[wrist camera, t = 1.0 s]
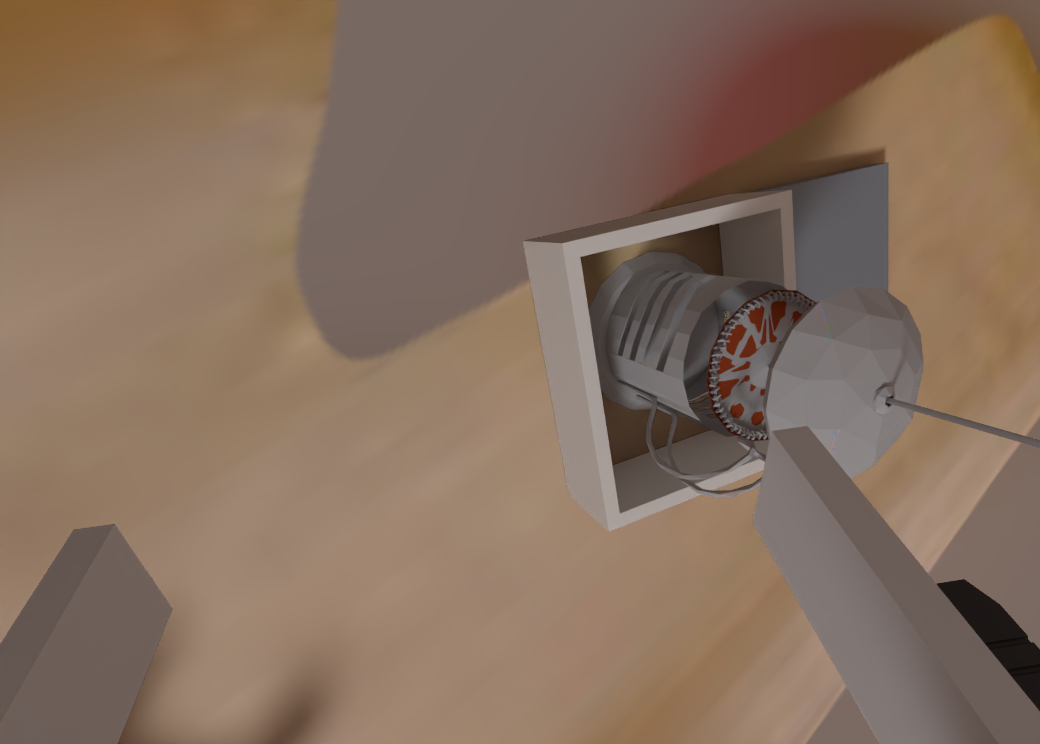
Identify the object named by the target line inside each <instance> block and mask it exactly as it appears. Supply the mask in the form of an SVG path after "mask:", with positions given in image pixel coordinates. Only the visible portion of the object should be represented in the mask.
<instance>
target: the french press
mask: <svg viewBox="0 0 1040 744" xmlns="http://www.w3.org/2000/svg"><path fill="white" fill-rule="evenodd" d="M723 310H725V311H729V313H730V318H729V319H728V320H727V321H726V322H725V323H724V315H723ZM589 317H590V323H591V330H592V336H593V343H594V349H595V356H596V362H597V369H598V375H599V382H600V388H601V391H602V392H603V393H604V394H605V395H606V397H607V398H608V399H609V400H610V401H613V402H615V403H617V404H620V405H622V406H624V407H626V408H629V409H631V410H633V411H635V410H651V411H650V414H649V418H648V421H647V425H646V441H647V445H648V448H649V451H650V454H651V456H652V457H653V459H654V460H655V461H656V463H657V464H658V465H659V467H661V468H662V469H664V470H666V471H667V472H669V473H671V474H672V475H674V476H675V477H677V478H679V480H681V481H682V482H683V483H685V484H686V485H687V486H689V487H690V488H691V489H693V490H694V491H695V492H697V493H699V494H703V495H707V496H712V497H733V496H736V495H739V494H742V493H745V492H748V491H751V490H753V489H756V488H757V487H759V486H760V484H761V479H762V477H761V478H760V479H758V480H757V481H755V482H754V483H753V484H750V485H747V486H743V487H740V488H737V489H734V490H727V491H712V490H706V489H702V488H701V487H699V486H697V485H695V484H694V483H692V482H690V481H689V480H700V479H710V478H713V477H716V476H719V475H722V474H725V473H729V472H732V471H734V470H735V469H737V468H738V467H740V466H741V465H742V464H744V463H745V462H747V461H748V460H750V459H751V458H752V457H753V455H755V456H756V457H757V458H759V459H761V460H763V461H764V462H765V460H766V455H765V454H762V453H760V452H759V451H758V450H756V447H755V444H754V441H760V440H769V441H770V436H771V431H775V430H782V429H789V428H796V427H803V426H808V427H809V428H810V429H811V431H812V432H813V433H814V434H815V436H816V437H817V438H818V439H819V441H820V442H821V443H822V444H823V445H824V447H825V448H826V449H827V450H828V452H829V453H830V454H831V455H832V457H833V458H834V459H835V460H836V461H837V463H838V464H839V465H840V466H841V468H842V469H843V470H844V471H845V473H846V474H847V475H848V476H849V477H850V479H851V478H853V477H855V476H856V475H858V474H860V473H862V472H863V471H865V470H867V469H869V468H870V467H872V466H874V464H875V463H876V462H877V461H878V460H879V459H880V458H881V457H882V456H883V454H884V453H885V452H886V451H887V450H888V449H889V448H890V447H891V446H892V445H893V443H894V442H895V441H896V440H897V439H898V438H899V436H900V435H901V434H902V432H903V431H904V429H905V428H906V427H907V425H908V424H909V423H910V421H911V420H912V417H913V413H914V411H916V412H920V413H923V414H926V415H930V416H933V417H937V418H940V419H943V420H947V421H950V422H954V423H957V424H960V425H964V426H967V427H971V428H974V429H977V430H981V431H984V432H988V433H991V434H994V435H998V436H1001V437H1005V438H1008V439H1011V440H1015V441H1018V442H1021V443H1025V444H1028V445H1032V446H1035V447H1039V448H1040V440H1037V439H1033V438H1029V437H1026V436H1023V435H1019V434H1016V433H1012V432H1008V431H1005V430H1001V429H998V428H994V427H991V426H987V425H984V424H980V423H977V422H973V421H970V420H966V419H963V418H959V417H956V416H952V415H949V414H945V413H942V412H938V411H935V410H931V409H928V408H924V407H921V406H917V405H915V404H916V399H917V395H918V390H919V386H920V381H921V377H922V372H923V354H922V344H921V335H920V332H919V330H918V328H917V326H916V324H915V322H914V320H913V318H912V316H911V314H910V312H909V310H908V308H907V306H906V305H904V304H903V303H902V302H900V301H899V300H898V299H896V298H895V297H894V296H892V295H891V294H890V293H888V292H887V291H885V290H884V289H883V288H869V287H855V286H852V287H850V288H848V289H846V290H843V291H841V292H839V293H837V294H834V295H832V296H830V297H828V298H826V299H823V300H821V301H819V302H817V303H816V302H814V301H813V300H811V299H810V298H808V297H806V296H805V295H803V294H802V293H800V292H799V291H797V290H787V289H786V288H784V287H783V286H782V285H778V284H774V283H771V282H766V281H759V280H751V279H744V278H736V277H727V276H718V275H710V274H706V273H705V272H704V270H703V269H702V267H700V266H699V265H697V264H695V263H694V262H692V261H690V260H689V259H687V258H685V257H684V256H682V255H681V254H679V253H668V252H652V251H651V252H648V253H646V254H643V255H641V256H638V257H636V258H633V259H631V260H628V261H626V262H623V263H622V264H621V265H620V266H619V267H618V268H617V269H616V270H615V271H614V272H613V273H612V274H611V275H610V276H609V277H608V278H607V279H606V280H605V281H604V282H603V283H602V284H601V285H600V287H599V289H598V291H597V293H596V295H595V297H594V300H593V302H592V304H591V306H590V308H589ZM708 392H709V398H707V399H705V400H703V401H701V402H698V403H693V404H689V403H688V401H692V400H695V399H697V398H699V397H701V396H702V395H704V394H706V393H708ZM709 404H711V406H712V409H707V410H702V411H695V410H693V408H698V407H703V406H707V405H709ZM656 409H659V410H661V411H663V412H665V413H667V414H669V415H670V416H671V417H672V422H671V426H670V430H669V434H668V438H667V459H668V461H669V463H670V465H671V466H669V465H668V464H667V463H665V462H664V461H662V460H661V459H660V458H659V457H658V455H657V453H656V451H655V449H654V447H653V445H652V443H651V427H652V423H653V419H654V416H655V412H656ZM674 412H675V413H677V414H680V415H682V416H684V417H686V418H688V419H690V420H692V421H694V422H696V423H698V424H701V425H703V426H705V427H707V428H709V429H711V430H713V431H715V432H718V433H720V434H722V435H724V436H726V437H734V436H739V437H738V438H737V441H738V442H739V443H740V444H741V445H742V446H743V447H744V448H745V449H747V450H748V453H747V454H746V455H744V456H743V457H741V458H740V459H739V460H737V461H736V462H734V463H733V464H732V465H730V466H728V467H725V468H723V469H720V470H717V471H714V472H711V473H708V474H697V475H692V474H686V473H681V472H680V471H679V469H678V468H677V466H676V464H675V462H674V459H673V457H672V438H673V435H674V431H675V428H676V424H677V415H676V414H675V413H674ZM714 413H715V414H716V416H717V417H715V418H710V417H708V416H706V415H709V414H714ZM721 422H722V423H721ZM687 479H688V480H687Z"/></svg>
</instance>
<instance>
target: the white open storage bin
mask: <svg viewBox="0 0 1040 744" xmlns="http://www.w3.org/2000/svg"><path fill="white" fill-rule="evenodd" d="M718 223H719V229H720V241H721V254H722V266H723V276H727V277H736V278H744V279H751V280H759V281H766V282H771V283H774V284H778V285H782V286H783V287H784V288H786V289H787V290H796V268H795V247H794V225H793V203H792V190H780V191H767V192H753V193H739V194H727V195H723V196H718V197H714V198H709V199H705V200H701V201H696V202H692V203H687V204H683V205H679V206H674V207H670V208H666V209H661V210H657V211H652V212H648V213H644V214H639V215H635V216H630V217H626V218H622V219H618V220H613V221H608V222H604V223H600V224H596V225H591V226H586V227H582V228H578V229H573V230H569V231H565V232H560V233H556V234H552V235H547V236H543V237H538V238H534V239H530V240H525V241H523V245H524V250H525V255H526V261H527V266H528V272H529V278H530V283H531V289H532V294H533V300H534V305H535V311H536V316H537V322H538V327H539V333H540V338H541V344H542V349H543V355H544V360H545V366H546V372H547V377H548V383H549V388H550V394H551V399H552V405H553V410H554V416H555V421H556V427H557V432H558V438H559V443H560V449H561V454H562V460H563V465H564V471H565V476H566V482H567V487H568V493H569V495H570V496H571V497H573V498H574V499H575V500H576V501H577V502H578V503H579V504H580V505H581V506H582V507H583V508H584V509H585V510H586V511H587V512H588V513H589V514H590V515H592V516H593V517H594V518H595V519H596V520H597V521H598V522H599V523H600V524H601V525H602V526H603V527H604V528H605V529H606V530H607V531H608V532H610V531H612V530H615V529H617V528H620V527H622V526H625V525H627V524H630V523H632V522H635V521H637V520H640V519H642V518H645V517H647V516H650V515H652V514H655V513H657V512H659V511H662V510H664V509H667V508H669V507H672V506H674V505H677V504H679V503H682V502H684V501H687V500H689V499H692V498H694V497H697V496H699V495H702V494H699V493H697V492H695V491H694V490H693V489H691V488H690V487H689V486H687V485H686V484H685V483H683V482H682V481H681V480H679V478H677V477H675V476H674V475H672V474H671V473H669V472H667V471H666V470H664V469H662V468H661V467H659V465H658V464H657V463H656V461H655V460H654V459H653V457H652V456H651V454H650V452H648V453H646V454H643V455H640V456H637V457H635V458H632V459H629V460H626V461H624V462H621V463H618V464H615V465H613V466H612V460H611V453H610V447H609V440H608V434H607V427H606V421H605V414H604V408H603V401H602V395H601V388H600V382H599V375H598V369H597V362H596V356H595V349H594V343H593V336H592V330H591V323H590V317H589V310H588V304H587V297H586V291H585V284H584V278H583V271H582V265H581V258H580V257H582V256H586V255H591V254H595V253H599V252H603V251H607V250H611V249H615V248H619V247H623V246H627V245H632V244H636V243H640V242H644V241H648V240H652V239H656V238H660V237H664V236H669V235H673V234H677V233H681V232H685V231H689V230H693V229H697V228H701V227H705V226H710V225H714V224H718ZM726 314H727V320H728V319H729V318H730V313H729V311H726ZM738 437H739V436H734V437H726V436H724V435H722V434H720V433H718V432H715V431H713V430H709V431H706V432H703V433H700V434H698V435H695V436H692V437H689V438H687V439H684V440H681V441H678V442H676V443H673V444H672V457H673V459H674V462H675V464H676V466H677V468H678V469H679V471H680V472H681V473H686V474H692V475H697V474H708V473H711V472H714V471H717V470H720V469H723V468H725V467H728V466H730V465H732V464H733V463H734V462H736V461H737V460H739V459H740V458H741V457H743V456H744V455H746V454H747V453H748V450H747V449H745V448H744V447H743V446H742V445H741V444H740V443H739V442H738V441H737V438H738ZM754 444H755V447H756V450H758V451H759V452H760V453H762V454H765V455H767V450H768V445H769V440H760V441H754ZM655 451H656V453H657V455H658V457H659V458H660V459H661V460H662V461H664V462H665V463H667V464H668V465H669V466H671V465H670V463H669V461H668V459H667V446H665V447H662V448H659V449H657V450H655ZM764 465H765V462H764V461H763V460H761V459H759V458H757V457H756V456H755V455H753V457H752V458H751V459H750V460H748V461H747V462H745V463H744V464H742V465H741V466H740V467H738V468H737V469H735V470H734V471H732V472H729V473H725V474H722V475H719V476H716V477H713V478H710V479H700V480H689V481H690V482H692V483H694V484H695V485H697V486H699V487H701V488H702V489H706V490H714V489H717V488H719V487H722V486H724V485H727V484H729V483H732V482H734V481H737V480H739V479H742V478H744V477H747V476H749V475H752V474H754V473H757V472H759V471H762V470H764ZM687 480H688V479H687Z"/></svg>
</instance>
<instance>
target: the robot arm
mask: <svg viewBox="0 0 1040 744" xmlns="http://www.w3.org/2000/svg"><path fill="white" fill-rule="evenodd" d="M753 524H754V526H755V527H756V529H757V531H758V533H759V534H760V536H761V538H762V540H763V541H764V543H765V545H766V547H767V548H768V550H769V552H770V554H771V555H772V557H773V559H774V561H775V562H776V564H777V566H778V568H779V569H780V571H781V573H782V575H783V576H784V578H785V580H786V582H787V583H788V585H789V587H790V588H791V590H792V592H793V594H794V595H795V597H796V599H797V601H798V602H799V604H800V606H801V608H802V609H803V611H804V613H805V615H806V616H807V618H808V620H809V622H810V623H811V625H812V627H813V629H814V630H815V632H816V634H817V636H818V637H819V639H820V641H821V643H822V644H823V646H824V648H825V650H826V651H827V653H828V655H829V657H830V658H831V660H832V662H833V664H834V665H835V667H836V669H837V671H838V672H839V674H840V676H841V677H842V679H843V681H844V683H845V684H846V686H847V688H848V690H849V691H850V693H851V695H852V697H853V698H854V700H855V702H856V703H857V705H858V707H859V709H860V711H861V712H862V714H863V716H864V718H865V719H866V721H867V723H868V724H869V726H870V728H871V730H872V732H873V733H874V735H875V737H876V739H877V740H878V742H879V744H1040V649H1039V648H1038V647H1037V646H1036V645H1035V644H1034V643H1031V642H1030V641H1029V640H1028V636H1027V635H1026V633H1025V632H1024V631H1023V630H1022V629H1021V628H1020V627H1019V625H1018V624H1017V623H1016V622H1015V621H1014V620H1013V619H1012V618H1011V617H1010V615H1008V613H1007V612H1006V611H1005V610H1004V609H1003V608H1002V606H1001V605H1000V604H998V603H997V602H996V601H994V600H993V599H991V598H990V597H989V596H987V595H985V594H984V593H983V592H981V591H980V590H979V589H977V588H976V587H974V586H973V585H971V584H970V583H969V582H967V581H966V580H964V579H963V580H957V581H950V582H944V583H938V584H936V583H935V582H934V581H933V579H932V578H931V577H930V576H929V575H928V573H927V572H926V571H925V570H924V568H923V567H922V566H921V565H920V563H919V562H918V561H917V560H916V559H915V557H914V556H913V555H912V554H911V552H910V551H909V550H908V549H907V548H906V546H905V545H904V544H903V543H902V541H901V540H900V539H899V538H898V536H897V535H896V534H895V533H894V532H893V530H892V529H891V528H890V527H889V525H888V524H887V523H886V522H885V520H884V519H883V518H882V517H881V516H880V514H879V513H878V512H877V511H876V509H875V508H874V507H873V506H872V504H871V503H870V502H869V501H868V500H867V498H866V497H865V496H864V495H863V493H862V492H861V491H860V490H859V488H858V487H857V486H856V485H855V484H854V482H853V481H852V480H851V479H850V477H849V476H848V475H847V474H846V473H845V471H844V470H843V469H842V468H841V466H840V465H839V464H838V463H837V461H836V460H835V459H834V458H833V457H832V455H831V454H830V453H829V452H828V450H827V449H826V448H825V447H824V445H823V444H822V443H821V442H820V441H819V439H818V438H817V437H816V436H815V434H814V433H813V432H812V431H811V429H810V428H809V427H808V426H803V427H796V428H789V429H782V430H775V431H771V436H770V441H769V445H768V450H767V455H766V460H765V465H764V470H763V474H762V479H761V484H760V489H759V494H758V498H757V503H756V508H755V513H754V518H753ZM171 612H172V607H171V606H170V604H169V603H168V601H167V600H166V598H165V597H164V596H163V594H162V593H161V591H160V590H159V588H158V587H157V585H156V584H155V582H154V581H153V579H152V578H151V577H150V575H149V574H148V572H147V571H146V569H145V568H144V566H143V565H142V563H141V562H140V560H139V559H138V558H137V556H136V555H135V553H134V552H133V550H132V549H131V547H130V546H129V544H128V543H127V541H126V540H125V539H124V537H123V536H122V534H121V533H120V531H119V530H118V528H117V527H116V525H115V524H110V525H103V526H96V527H89V528H82V529H75V530H73V532H72V533H71V535H70V536H69V538H68V539H67V541H66V543H65V544H64V546H63V547H62V549H61V550H60V552H59V554H58V555H57V557H56V558H55V560H54V561H53V563H52V564H51V566H50V568H49V569H48V571H47V572H46V574H45V575H44V577H43V578H42V580H41V582H40V583H39V585H38V586H37V588H36V589H35V591H34V592H33V594H32V596H31V597H30V599H29V600H28V602H27V603H26V605H25V607H24V608H23V610H22V611H21V613H20V614H19V616H18V617H17V619H16V621H15V622H14V624H13V625H12V627H11V628H10V630H9V631H8V633H7V635H6V636H5V638H4V639H3V641H2V642H1V644H0V744H118V742H119V739H120V737H121V734H122V732H123V729H124V727H125V725H126V722H127V720H128V717H129V715H130V712H131V710H132V707H133V705H134V703H135V700H136V698H137V695H138V693H139V690H140V688H141V685H142V683H143V680H144V678H145V676H146V673H147V671H148V668H149V666H150V663H151V661H152V658H153V656H154V653H155V651H156V649H157V646H158V644H159V641H160V639H161V636H162V634H163V631H164V629H165V627H166V624H167V622H168V619H169V617H170V614H171Z"/></svg>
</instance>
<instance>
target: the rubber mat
mask: <svg viewBox="0 0 1040 744" xmlns="http://www.w3.org/2000/svg"><path fill="white" fill-rule="evenodd" d="M780 190H792V203H793V225H794V247H795V268H796V290H797V291H799V292H800V293H802V294H803V295H805V296H806V297H808V298H810V299H811V300H813V301H814V302H816V303H817V302H819V301H821V300H823V299H826V298H828V297H830V296H832V295H834V294H837V293H839V292H841V291H843V290H846V289H848V288H850V287H852V286H855V287H869V288H883V289H884V290H885V291H887V292H888V163H880V164H873V165H868V166H864V167H860V168H855V169H851V170H847V171H842V172H838V173H834V174H829V175H825V176H821V177H816V178H812V179H807V180H803V181H799V182H794V183H790V184H786V185H781V186H777V187H773V188H768V189H764V190H760V191H755V192H767V191H780ZM751 193H753V192H751Z"/></svg>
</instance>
